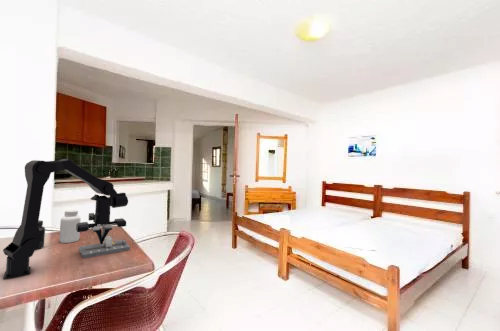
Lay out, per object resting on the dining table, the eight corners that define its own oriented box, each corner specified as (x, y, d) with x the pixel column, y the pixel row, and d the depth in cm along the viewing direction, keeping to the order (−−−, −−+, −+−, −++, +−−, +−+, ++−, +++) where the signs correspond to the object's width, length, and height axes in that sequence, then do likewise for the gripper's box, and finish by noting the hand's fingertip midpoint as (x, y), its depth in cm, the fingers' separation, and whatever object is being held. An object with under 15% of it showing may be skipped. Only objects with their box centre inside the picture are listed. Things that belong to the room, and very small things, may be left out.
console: (129, 249, 109) (130, 244, 109) (82, 258, 97) (83, 252, 97) (122, 242, 118) (123, 237, 118) (78, 250, 106) (79, 244, 106)
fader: (112, 246, 107) (112, 238, 107) (106, 247, 105) (106, 239, 105) (109, 243, 111) (110, 235, 111) (103, 244, 109) (104, 236, 109)
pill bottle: (81, 237, 122) (83, 209, 122) (76, 242, 115) (78, 212, 115) (62, 238, 119) (64, 209, 119) (56, 244, 112) (58, 212, 112)
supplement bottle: (31, 251, 101) (33, 223, 101) (19, 249, 102) (20, 222, 103) (48, 246, 108) (49, 220, 108) (36, 244, 109) (37, 219, 109)
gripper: (121, 205, 119) (119, 235, 119) (75, 208, 106) (73, 242, 106) (127, 208, 110) (125, 241, 110) (78, 212, 98) (76, 249, 98)
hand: (101, 243), depth 106 cm, fingers closed
